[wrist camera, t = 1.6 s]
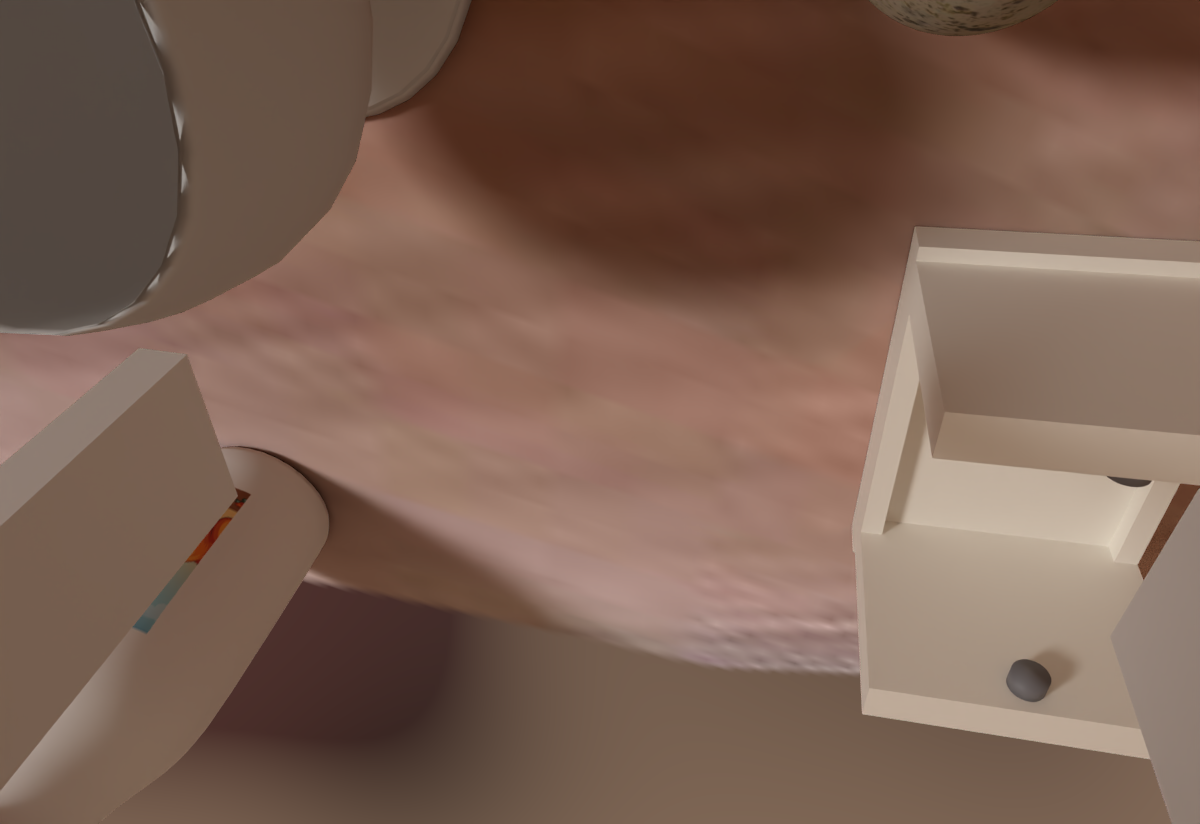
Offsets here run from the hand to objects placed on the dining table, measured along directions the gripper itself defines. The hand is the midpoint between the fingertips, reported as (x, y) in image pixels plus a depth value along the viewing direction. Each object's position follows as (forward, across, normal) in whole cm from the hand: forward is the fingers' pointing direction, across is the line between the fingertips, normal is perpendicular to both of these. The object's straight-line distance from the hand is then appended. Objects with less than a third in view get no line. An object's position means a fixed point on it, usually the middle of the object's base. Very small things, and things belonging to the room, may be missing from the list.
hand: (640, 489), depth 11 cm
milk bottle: (+19, -22, -22) cm, 37 cm away
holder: (+19, +11, -11) cm, 25 cm away
